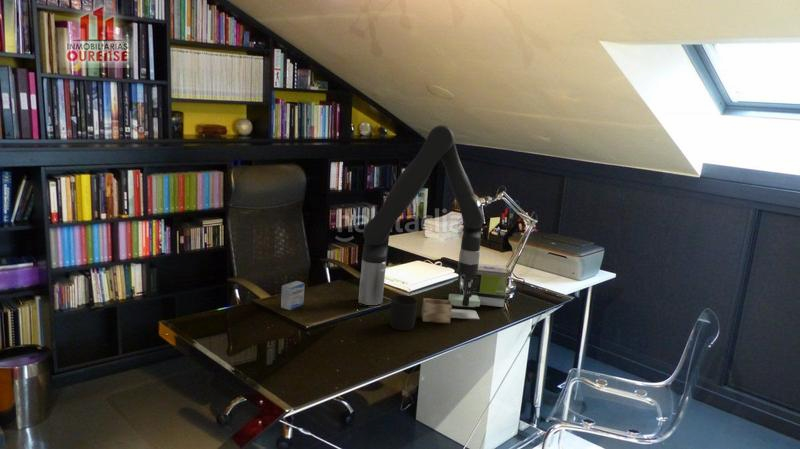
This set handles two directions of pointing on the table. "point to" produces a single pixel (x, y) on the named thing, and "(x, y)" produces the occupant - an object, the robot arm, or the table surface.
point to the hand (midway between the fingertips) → (463, 302)
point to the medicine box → (292, 295)
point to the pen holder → (403, 312)
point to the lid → (458, 300)
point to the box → (436, 310)
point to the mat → (464, 314)
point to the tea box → (490, 284)
